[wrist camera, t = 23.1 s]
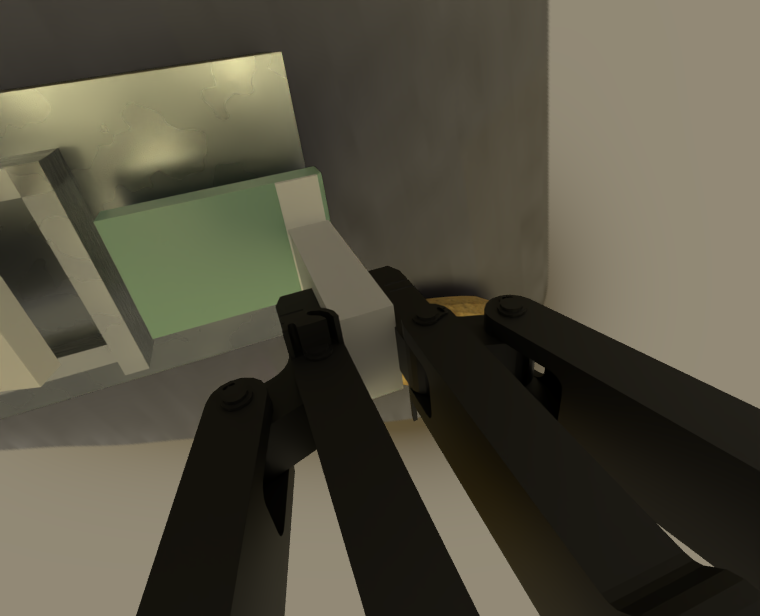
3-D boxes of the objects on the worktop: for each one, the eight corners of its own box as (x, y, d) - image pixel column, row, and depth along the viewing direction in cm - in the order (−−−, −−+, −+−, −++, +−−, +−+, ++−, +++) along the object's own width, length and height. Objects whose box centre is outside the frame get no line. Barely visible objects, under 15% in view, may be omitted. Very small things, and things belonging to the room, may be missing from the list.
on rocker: (155, 324, 18) (152, 341, 17) (99, 211, 16) (92, 223, 14) (335, 274, 20) (343, 287, 19) (314, 166, 17) (322, 174, 16)
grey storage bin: (-131, 394, 23) (-269, 536, 17) (-390, 147, 16) (-819, 215, 10) (314, 274, 29) (350, 343, 22) (263, 52, 22) (291, 51, 15)
